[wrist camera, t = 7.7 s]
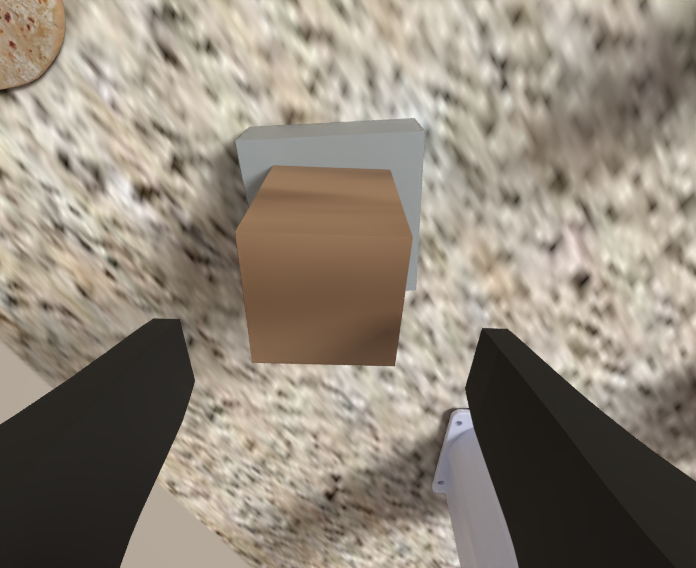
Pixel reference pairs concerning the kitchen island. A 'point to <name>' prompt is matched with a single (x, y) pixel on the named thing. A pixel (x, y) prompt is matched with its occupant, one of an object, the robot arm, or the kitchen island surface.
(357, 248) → the walnut block
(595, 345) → the kitchen island surface
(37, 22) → the flatbread
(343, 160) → the base slab
